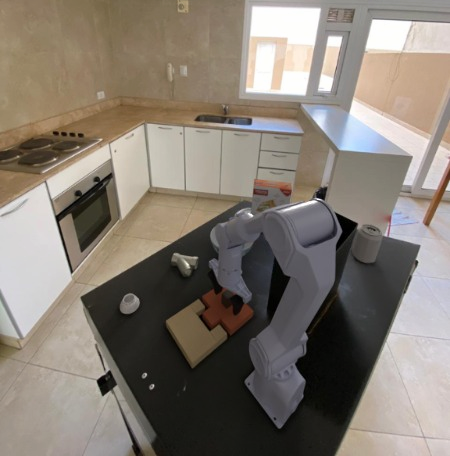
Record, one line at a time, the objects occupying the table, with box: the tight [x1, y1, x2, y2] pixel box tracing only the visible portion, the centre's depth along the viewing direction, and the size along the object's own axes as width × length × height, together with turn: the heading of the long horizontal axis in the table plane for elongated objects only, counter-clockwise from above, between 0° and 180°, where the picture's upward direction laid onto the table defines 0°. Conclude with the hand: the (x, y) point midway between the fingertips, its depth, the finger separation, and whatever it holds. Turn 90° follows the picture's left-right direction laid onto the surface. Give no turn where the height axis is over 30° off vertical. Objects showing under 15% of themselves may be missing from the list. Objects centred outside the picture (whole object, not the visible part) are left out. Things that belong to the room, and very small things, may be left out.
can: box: [351, 223, 384, 264], centre depth 87 cm, size 8×8×12 cm
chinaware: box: [209, 225, 255, 258], centre depth 87 cm, size 15×15×8 cm
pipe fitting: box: [170, 252, 199, 278], centre depth 80 cm, size 8×4×7 cm
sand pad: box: [165, 298, 228, 369], centre depth 62 cm, size 12×10×2 cm
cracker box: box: [250, 178, 293, 234], centre depth 98 cm, size 14×6×21 cm, turn 80°
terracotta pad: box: [201, 287, 254, 336], centre depth 67 cm, size 12×11×6 cm
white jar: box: [119, 293, 141, 315], centre depth 68 cm, size 5×3×5 cm
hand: (227, 302), depth 68 cm, fingers open, 7 cm apart
